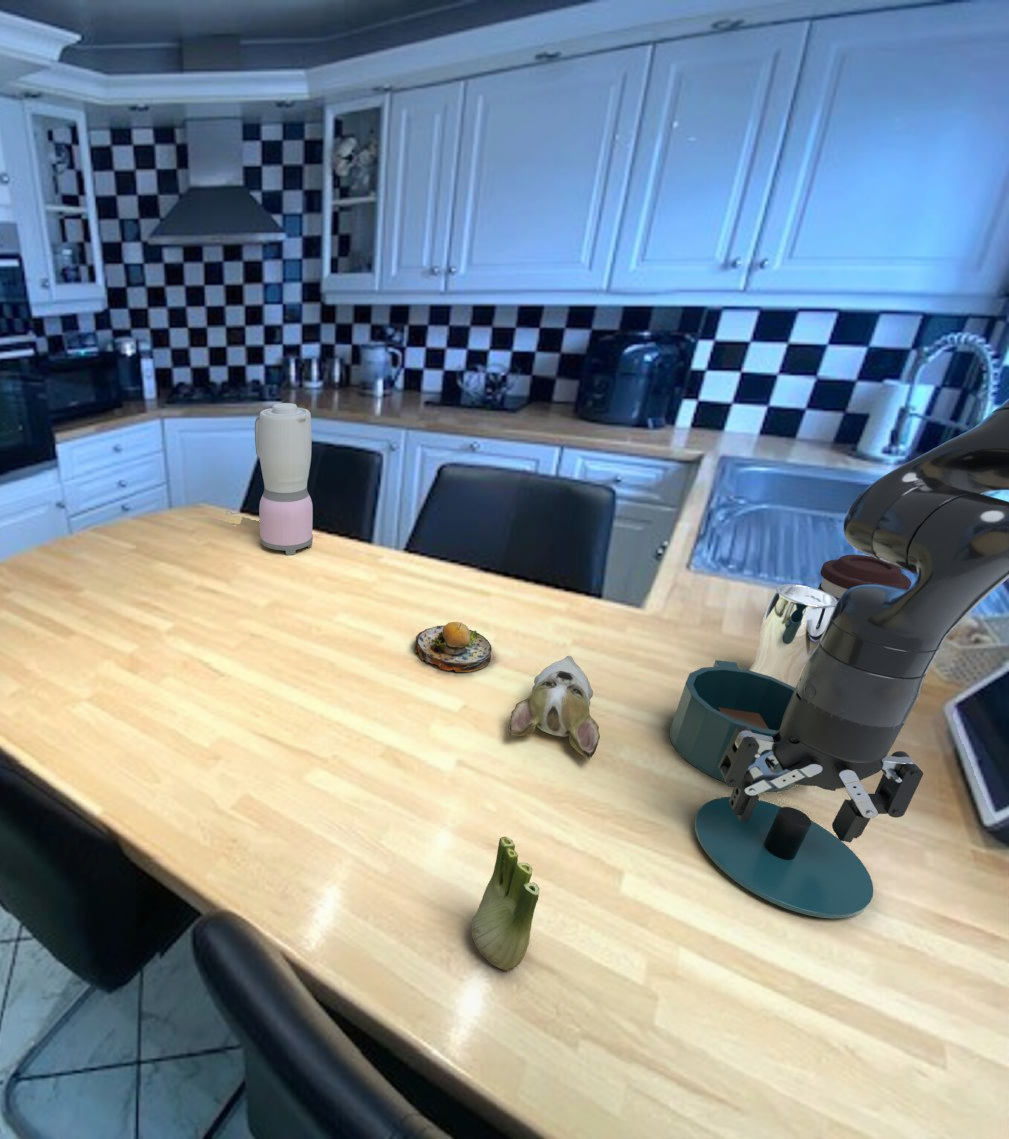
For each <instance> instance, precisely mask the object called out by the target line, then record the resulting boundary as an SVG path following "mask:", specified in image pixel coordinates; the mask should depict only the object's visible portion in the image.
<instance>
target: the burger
mask: <svg viewBox="0 0 1009 1139" xmlns="http://www.w3.org/2000/svg"><path fill="white" fill-rule="evenodd" d="M492 650H493V648H492V644H491V643H490V642H489V639H488V638H486V637H485V636H484V635H483V634H480V633H479V632H478V631H477V630H471V629H469V627H468V626H467V625H466V624H465V623H463V622H461V621H451V622H448V623H446V624H445V625H436V626H432V627H429V628H425V629H423V630H422V631H420V632H419V633H417V635H416V637H415V645H414V651H415V653H416V654H418V655H419V658H420V659H421V661H424V662H425V663H430V664H432V665H435V666H437V667H438V668H439V669H440V670H444V671H449V672H450V671H452V670H454V671H455V673H468V672H476V671H478V670H481V669H484V668H485V667H487V666H488V664H489V663H491V660H492Z"/></svg>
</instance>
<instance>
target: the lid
mask: <svg viewBox="0 0 1009 1139" xmlns="http://www.w3.org/2000/svg"><path fill="white" fill-rule="evenodd" d="M730 797H731V796H725V797H724V796H723V797H718V798H715V799H711V800H710V801H707V802H706V803H704V804H703V805H701V807H700V808H699V809H698V811H697V813H696V815H695V819H694V831H695V834H696V838H697V840H698V842H699V844H700V846H701V848H702V849H703V851H704V852H705V854H706V855H707V857H708V858H710V860H711V862H713V863H714V864H715V865H716V867H718V869H720V870H721V871H722V872H723V873H725V874H726V876H728V877H729V878H731V879H732V880H733V881H734V882H736V883H737V884H738V885H740V886H741V887H743V888H745V889H746V890H747V891H749V892H751V893H752V894H754V895H756V896H758V897H759V898H762V899H763V900H765V901H767V902H770V903H771V904H774V905H777V906H778V907H781V908H783V909H786V910H789V911H792V912H795V913H799V914H802V915H806V916H809V917H816V918H823V919H846V918H851V917H854V916H857V915H859V914H860V913H862V912H864V911H865V910H866V909H867V908H868V906H869V905H870V904H871V902H872V899H873V897H874V885H873V880H872V878H871V877H872V876H871V875H870V873H869V871H868V870H867V868H866V866H865V865H864V863H863V861H862V860H861V859H860V858H859V856H857V855H856V853H855V852H854V851H853V850H852V849H851V848H850V847H849V846H848V845H846V843H844V841H840V840H839V838H838V837H837V835H835V834H833V833H831V832H830V831H829V830H827V829H826V828H825V827H823V826H821V825H819V824H818V823H817V822H815V821H813V820H812V819H811V818H810V817H809V816H808V815H807V814H806V813H805V812H803V811H801V810H799V809H797V808H794V807H791V806H780V805H777V804H774V803H771V802H769V801H764V800H760V799H758V802H757V804H756V806H755V808H754V810H753V813H752V815H751V817H750V819H749V821H748V822H744V821H739V820H738V818H737V816H736V815H735V814H734V812H733V810H732V808H731V806H730V803H729V799H730Z"/></svg>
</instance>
